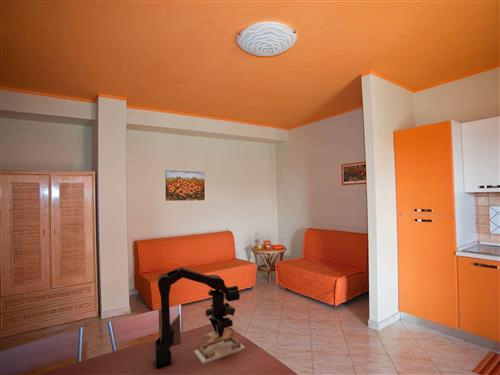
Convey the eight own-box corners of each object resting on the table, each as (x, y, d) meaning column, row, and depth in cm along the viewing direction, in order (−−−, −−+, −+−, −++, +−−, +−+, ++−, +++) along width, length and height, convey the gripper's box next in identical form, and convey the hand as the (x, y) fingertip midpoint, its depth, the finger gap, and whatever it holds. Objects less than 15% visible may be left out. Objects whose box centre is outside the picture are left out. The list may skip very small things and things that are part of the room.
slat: (206, 343, 137) (205, 336, 138) (204, 339, 141) (203, 333, 141) (233, 336, 143) (233, 330, 143) (231, 333, 146) (231, 327, 146)
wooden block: (179, 344, 149) (179, 308, 150) (158, 345, 148) (157, 310, 149) (180, 340, 153) (179, 305, 153) (159, 342, 152) (158, 307, 152)
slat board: (202, 364, 131) (202, 357, 131) (193, 352, 141) (193, 346, 141) (244, 349, 143) (244, 342, 143) (234, 339, 152) (234, 333, 152)
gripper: (242, 305, 138) (243, 338, 138) (224, 293, 154) (225, 323, 154) (220, 310, 132) (221, 345, 132) (204, 298, 148) (205, 329, 148)
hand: (219, 335), depth 142 cm, fingers closed on slat, 4 cm apart
